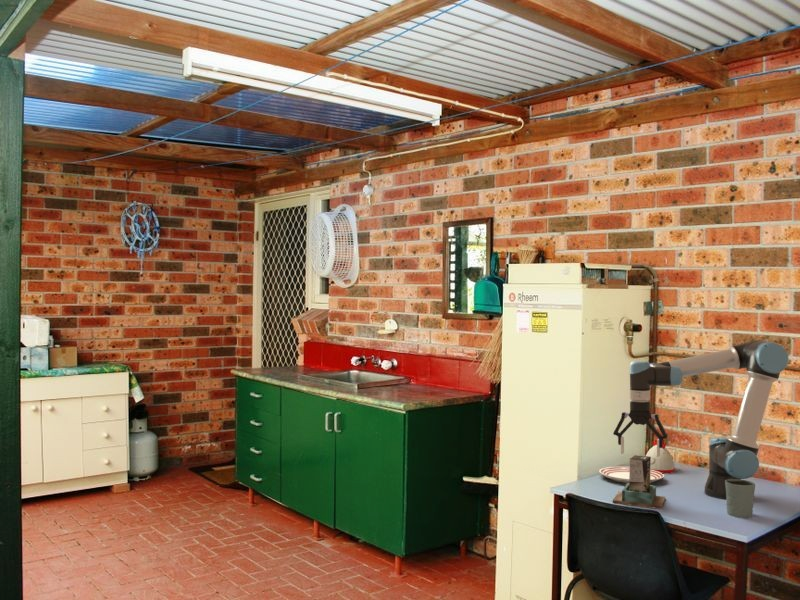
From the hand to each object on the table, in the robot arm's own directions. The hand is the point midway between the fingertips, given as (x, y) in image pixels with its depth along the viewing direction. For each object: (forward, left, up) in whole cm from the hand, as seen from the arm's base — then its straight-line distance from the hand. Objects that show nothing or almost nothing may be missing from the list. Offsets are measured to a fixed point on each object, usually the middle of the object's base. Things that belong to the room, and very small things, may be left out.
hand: (640, 454), depth 291 cm
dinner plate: (+8, -36, -19) cm, 41 cm away
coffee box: (0, 0, -17) cm, 17 cm away
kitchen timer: (-1, -60, -19) cm, 63 cm away
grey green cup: (-36, +2, -18) cm, 40 cm away
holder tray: (0, 0, -18) cm, 18 cm away
